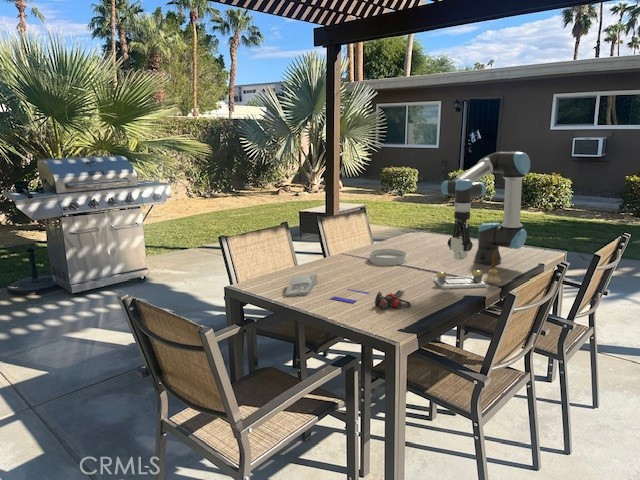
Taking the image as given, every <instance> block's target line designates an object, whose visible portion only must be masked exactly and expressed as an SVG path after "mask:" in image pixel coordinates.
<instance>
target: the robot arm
mask: <svg viewBox="0 0 640 480" xmlns="http://www.w3.org/2000/svg"><path fill="white" fill-rule="evenodd" d="M530 168H531V159H530V157H529V155H528V154H527V153H526V152H521V151H496V152H493V153H491V154H488V155H486V156H484V157H483V158H481V159H479V161H477V163H476V164H475V165H473V166H472V167H470V168H469V169H467V170H466V171H465V172H463V173H461V174H460V175H458V176H457V177H455V178H454V179H452V180H444V181H442V183H441V186H440V189H441V190H440V191H441V193H442V194H443V195H446V196H454V198H455V199H454V204H453V206H454V212H453V213H454V214H453V215H454V217H453V219H454V224H453V230H452V236H451V237H454V236H457V237H459V236H461V237H462V242H463V243H462V252H461V257H465V258H468V252H467V250H468V244H470V239H471V237H470V235H471V234H470V223H468V220H470V219H471V212H470V211H471V208H472V207H471V205H472V199H473V198H479V197H483V196H484V195H485V194H486V191H487V189H486V188H487V187H486V185H485V183H484V182H480V181H479V180H480V179H482V178H483V177H484V176H488V175H491V174H495V173H496V174H497V173H499V174H502V178H503V179H504V180H505V181H504V205H503V206H504V207H503V222H502V223H500V222H487V223H481V224H480V225H479V227H478V241H477V246H478V247H477V249H476V252H475V254H474V255H475V256H473V257H474V259H473V261H474V262H475V263H476V264H477V263H478V264H482V265H492V263H493V262H492V254H493V252H494V251H496V253H497V261H496V265H498V264H501V263H502V256H501V253H500V250H499V249H500V247H501V248H507V249H511V250H519V249H521V248H522V247H523V246H524V245H525V242H526V241H527V234H528V233H527V231H526V229H524V228H523V226H524V225H523V223H521V212H522V211H521V209H522V208H521V205H522V190H523V188H522V187H523V180H524V179H525V178H526V175H527V174H528V173H529V172H530V170H531V169H530ZM455 252H456V251H455V250H453V253H455ZM457 252H458V251H457ZM457 252H456V253H457Z"/></svg>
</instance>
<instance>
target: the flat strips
mask: <svg viewBox="0 0 640 480" xmlns="http://www.w3.org/2000/svg"><path fill="white" fill-rule="evenodd" d="M346 291H352V292H355V293H359V294H360V293H361V294H365V295H366V294H367V295H369V294H370V292H368V291H361V290H355V289H346ZM329 299H331V300H336V301H341V302H347V303H352V304H353V303H355V302H357V301H358V300H356V299H350V298H346V297H345V298H344V297H339V296H332V297H330V298H329Z"/></svg>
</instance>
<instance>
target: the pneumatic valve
mask: <svg viewBox="0 0 640 480" xmlns="http://www.w3.org/2000/svg"><path fill="white" fill-rule="evenodd" d="M462 243H463V242H462V235H460V236H459V237H457V236H454V237H452V236H451V237H449V239H448V241H447V246H448V248H449V250H450V251H454V250H455V251H456V252H453V253H454V254H453V258H454V260H458V261H462V260H465V259H466V257H461V252H462ZM473 245H474V244H473V242H472V240H471V238H470V244H468V250H467V253H468V252H471V250H472V249H473ZM457 251H458V252H457Z"/></svg>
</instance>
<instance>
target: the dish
mask: <svg viewBox="0 0 640 480" xmlns="http://www.w3.org/2000/svg"><path fill="white" fill-rule="evenodd" d="M369 262H370V263H371V264H375V265H377V266H378V265H379V266H399V265H404V264H405V263H406V262H407V253H406V251H404V250H400V249H394V248H393V249H391V248H381V249H374V250H372V251H370V252H369Z"/></svg>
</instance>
